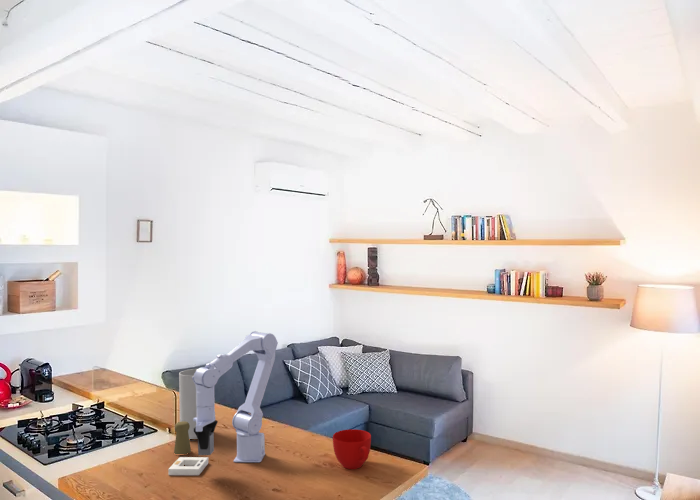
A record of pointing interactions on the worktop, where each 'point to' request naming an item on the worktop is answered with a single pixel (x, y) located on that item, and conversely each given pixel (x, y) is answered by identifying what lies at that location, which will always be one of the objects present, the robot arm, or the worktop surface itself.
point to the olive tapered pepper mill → (182, 438)
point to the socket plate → (188, 466)
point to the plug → (210, 446)
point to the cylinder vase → (188, 400)
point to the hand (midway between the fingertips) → (206, 446)
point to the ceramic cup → (352, 447)
